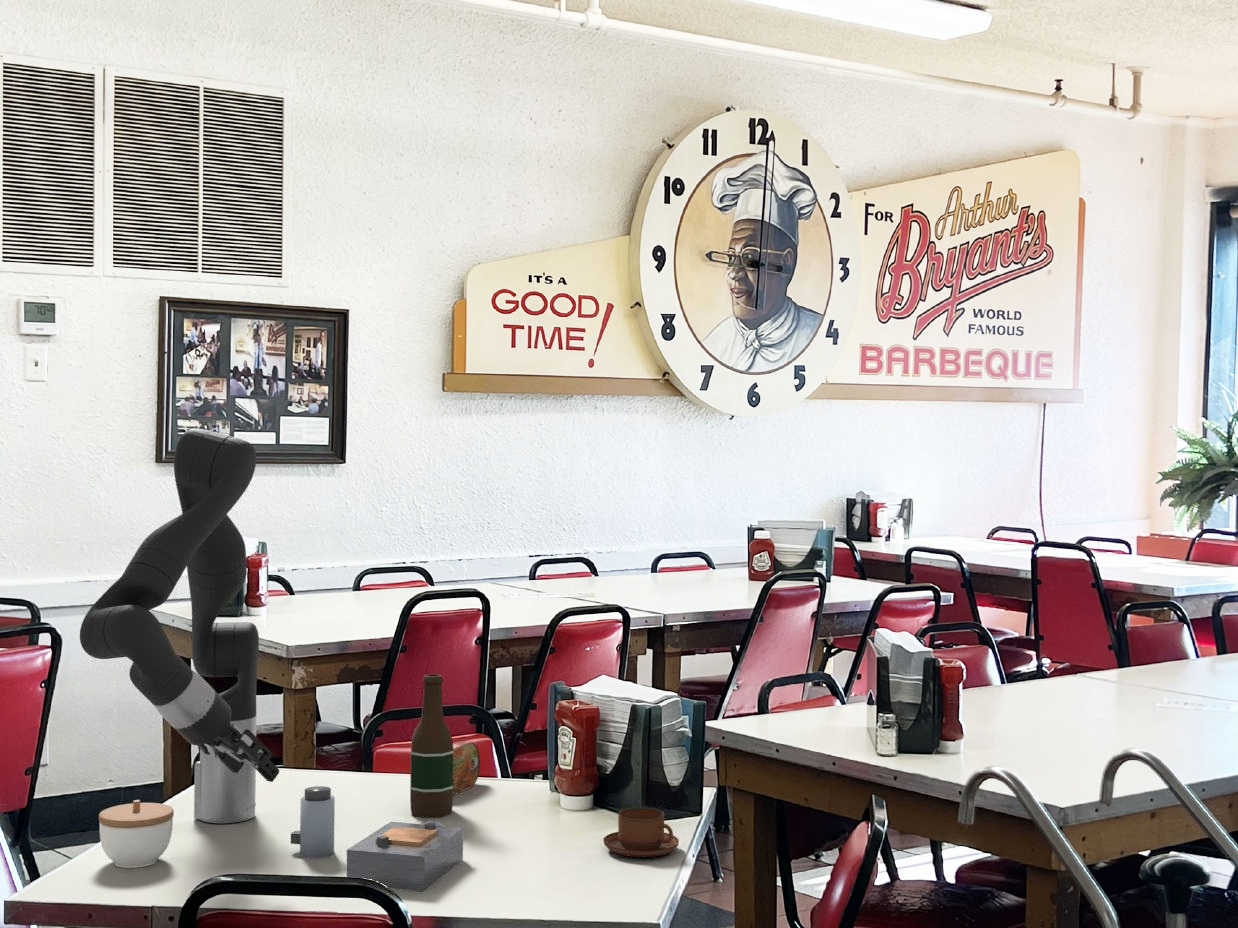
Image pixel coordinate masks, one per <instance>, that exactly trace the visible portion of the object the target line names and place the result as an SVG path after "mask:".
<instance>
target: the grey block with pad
mask: <svg viewBox="0 0 1238 928" xmlns="http://www.w3.org/2000/svg"><path fill="white" fill-rule="evenodd" d="M463 860H464V827H463V826H462V827H461V826H460V827H459V826H449V825H448V826H447V825H443V823H440V822H439V821H436V820H429V821H428V822H426V823H412V822H411V823H410V822H402V821H401V822H399V821H389V822H388V823H386V824H385V825H383V826H381V827H380V828H379V829H377V830H376V831H374V832H372V833H371V834H369V835H368V836H366V837H365V838H363V839H361V840H360V841H358V842H356V843H355V844H353V845H352V846H351V847H348V849H346V878H347V877H353V878H366V879H372V880H374V881H378V882H379V883H382V884H384V885H386V886H387V887H388V888H387V889H393V890H394V889H395V890H404V891H405V890H406V891H415V892H426V890H428V889H429V888H430V887H431V886H433V885H434V884H435V883H436V882H437V881H439V880H440V879H442V877H443V876H446V874H448V873H449V872H450V871H451V870H452V869H453V868H456V866H458V864H460V863H461V862H462V861H463Z"/></svg>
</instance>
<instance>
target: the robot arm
mask: <svg viewBox="0 0 1238 928" xmlns="http://www.w3.org/2000/svg"><path fill="white" fill-rule="evenodd" d="M256 465H257V452H256V448H255V447H254V445H253V444H252V443H250V442H249V441H247V440H244V439H242V438H239V437H236V436H231V435H228V434H224V433H220V432H217V431H214V430H213V431H212V430H208V429H202V428H191V429H187V430H186V431H185V432H184V433H183V434H181V436H180V438H179V439H178V442H177V444H176V447H175V451H174V458H173V472H174V481H175V486H176V491H177V495H178V500H179V504H180V508H181V514H180V515H178V516H177V517H175V518H173V519H171V520H169V521H167V522H165V523H164V524H162V525H160V526H159V527H158V528H156V529H155V530H154V531H152V532H151V533H150V534H149V535H148V536H147V537H146V538H145V539H144V540H143V541H142V543H141V544H140V546H138V548H137V550H136V552H135V553H134V555H133V557H132V558H131V560H130V561H129V563H128V565H127V566H126V568H125V570H124V572H123V573H122V575H121V576H120V577H119V578H118V579H117V580H116V581H115V582H114V583H113V584H112V585H111V586H110V587H109V588H108V589H107V590H106V591H105V592H103V594H102V595H101V596H100V597H99V598H98V599H97V600H96V601H95V602H94V604H93V605H92V606H90V608H89V610H88V611H87V612H86V614H85V616H84V617H83V620H82V622H81V625H80V629H79V641H80V645H81V648H82V649H83V650H84V652H85V653H86V654H87V655H89V656H90V657H92V658H94V659H97V660H98V659H100V660H110V659H119V658H128V660H130V661H132V664H131V666H130V668H129V674H128V675H129V678H130V681H131V682H132V685H134V687H135V688H136V689H137V691H139V692H140V693H141V695H142V696H144V697H145V698H146V699H147V700H148V701H149V702H150V703H151V704H152V705H153V707H155V709H156V711H157V712H158V714H159V715H160V716H162V718H163V719H164V720H166V722H168V724H169V725H171V726H172V728H174V730H175V731H176V732H177V733H179V734H180V735H181V736H182V737H183V739H185V740H186V741H187V743H188V744H189V745H192V746H197V747H198V748H199V761H198V760H197V761H196V762H195V763H194V784H193V785H194V786H193V787H194V797H193V799H194V803H193V819H195V820H200V821H202V822H204V823H209V824H210V823H211V824H234V823H240V822H244V821H248V820H250V819H253V818H254V817H255V815H256V785H257V784H256V783H257V782H256V781H257V780H256V778H257V776H256V774H257V773H259V775H261V777H263V778H264V779H265V780H266V781H267V782H270V783H271V782H272V783H273V782H274V780H275V779H276V778H277V776H278V775H279V774H280V768H278V766H277V765H276V764H274V762H273V761H271V760H270V758H271V757H272V756H273V752H272V750H271V749H269V748H268V747H267V746H266V745H265V744H264V743H263V742H262V741H261V740H260V739H259V738H258V737H257V679H258V678H257V677H258V664H259V653H260V652H259V651H260V650H259V648H260V640H259V638H260V637H259V631H258V628H257V626H256V625H255V624H254V623H252V622H245V621H243V622H240V621H239V622H234V621H233V622H216V620H217V617H218V616H219V614H220V613H221V612H222V611H223V609H225V607H226V606H227V605H228V604H229V603H230V602H231V601H233V599H234V598H235V596H237V595H238V593H239V592H240V590H241V589H242V587H243V586H244V583H245V582H246V577H247V575H248V573H247V572H248V571H247V569H248V568H247V567H248V566H247V551H246V550H247V549H246V543H245V540H244V538H243V536H242V534H241V533H240V531H239V529H238V528H237V526H236V525H235V523H234V522H233V520H232V519H231V518H230V516H229V515H228V514H229V512H230V511H231V510H232V509H233V507H234V506H235V505H236V504H237V502H238V501H239V500H240V499H241V498H242V496H243V494H244V493H245V492H246V490H247V488H248V487H249V485H250V483H251V481H252V480H253V476H254V475H255V474H254V473H255V471H256ZM185 570H186V571H187V580H188V587H189V594H190V604H191V657H192V658H191V659H192V663H193V668H194V670H193V668H191V667H190V666H189V665H188V664H187V663H186V662H185V660H184V659H183V658H181V656H179V654H177V652H175V649H174V648H173V646H172V644H171V641H170V639H169V638H168V635H167V634H166V632H165V630H164V628H163V626H162V624H161V623H160V621H159V619H158V618H157V617H156V616H155V614H153V613H152V612H151V610H153V609H155V608H158V607H159V606H161V605H163V604H164V603H165V602H166V601H167V600H168V599H169V597H170V596H171V594H172V593H173V590H174V589H175V587H176V585H177V584H178V582H179V580H180V578H181V577H182V575H183V573H184V571H185ZM204 677H207V678H233V677H234V678H237V682H236V683H235V684H234V685H233V686H231V687H230V688H229V689H227V690H224V691H223V692H220V693H218V692H217V691H216V690H215V689H214V688H213V687H212V686H211V685H210V684H209V683H208V681H206V680H205V679H204ZM256 771H257V773H256Z"/></svg>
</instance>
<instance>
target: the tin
mask: <svg viewBox="0 0 1238 928" xmlns="http://www.w3.org/2000/svg"><path fill="white" fill-rule="evenodd" d="M480 769H481V755H480V751H479V748H478V746H477V745H476V743H475V742H473V741H468V742H458V743H455V744H453V795H454V796H456V795H457V794H456V793H458V794H460V793H462V792H464V791H466V790H467V788H468V789H470V788H472V787H474V786H475V784H476V783H477V781H478V778H479V775H480V771H481V770H480ZM469 787H470V788H469ZM465 789H466V790H465ZM463 790H464V791H463ZM459 792H460V793H459ZM455 794H456V795H455Z"/></svg>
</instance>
